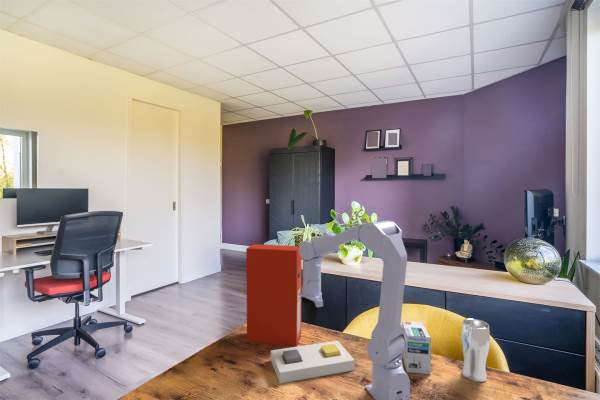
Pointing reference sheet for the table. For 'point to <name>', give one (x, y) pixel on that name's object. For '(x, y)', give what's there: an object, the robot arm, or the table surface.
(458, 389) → the table surface
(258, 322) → the file binder
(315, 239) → the robot arm
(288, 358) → the graphite key
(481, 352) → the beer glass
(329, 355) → the mustard key
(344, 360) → the board
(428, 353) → the light bulb box
